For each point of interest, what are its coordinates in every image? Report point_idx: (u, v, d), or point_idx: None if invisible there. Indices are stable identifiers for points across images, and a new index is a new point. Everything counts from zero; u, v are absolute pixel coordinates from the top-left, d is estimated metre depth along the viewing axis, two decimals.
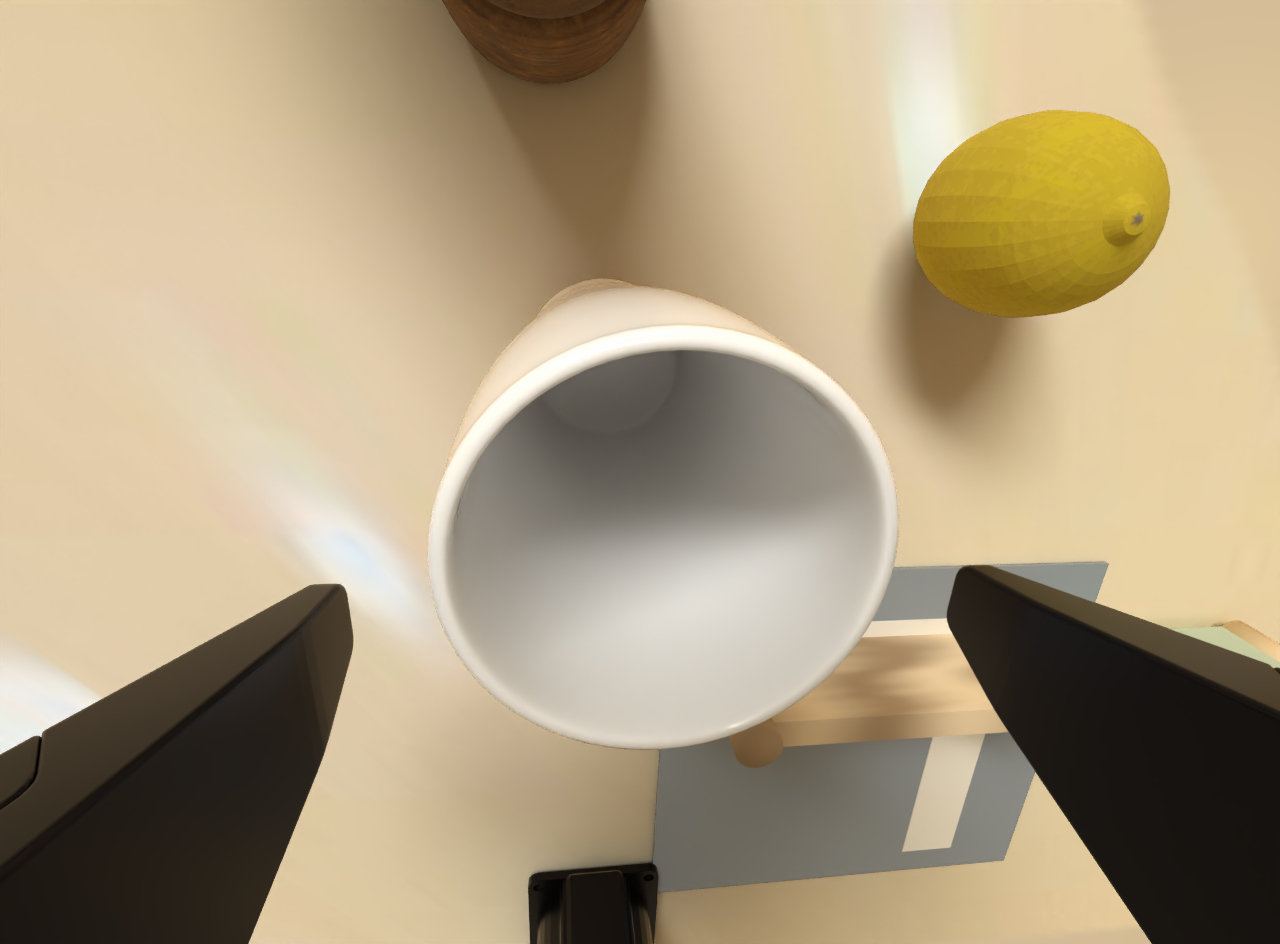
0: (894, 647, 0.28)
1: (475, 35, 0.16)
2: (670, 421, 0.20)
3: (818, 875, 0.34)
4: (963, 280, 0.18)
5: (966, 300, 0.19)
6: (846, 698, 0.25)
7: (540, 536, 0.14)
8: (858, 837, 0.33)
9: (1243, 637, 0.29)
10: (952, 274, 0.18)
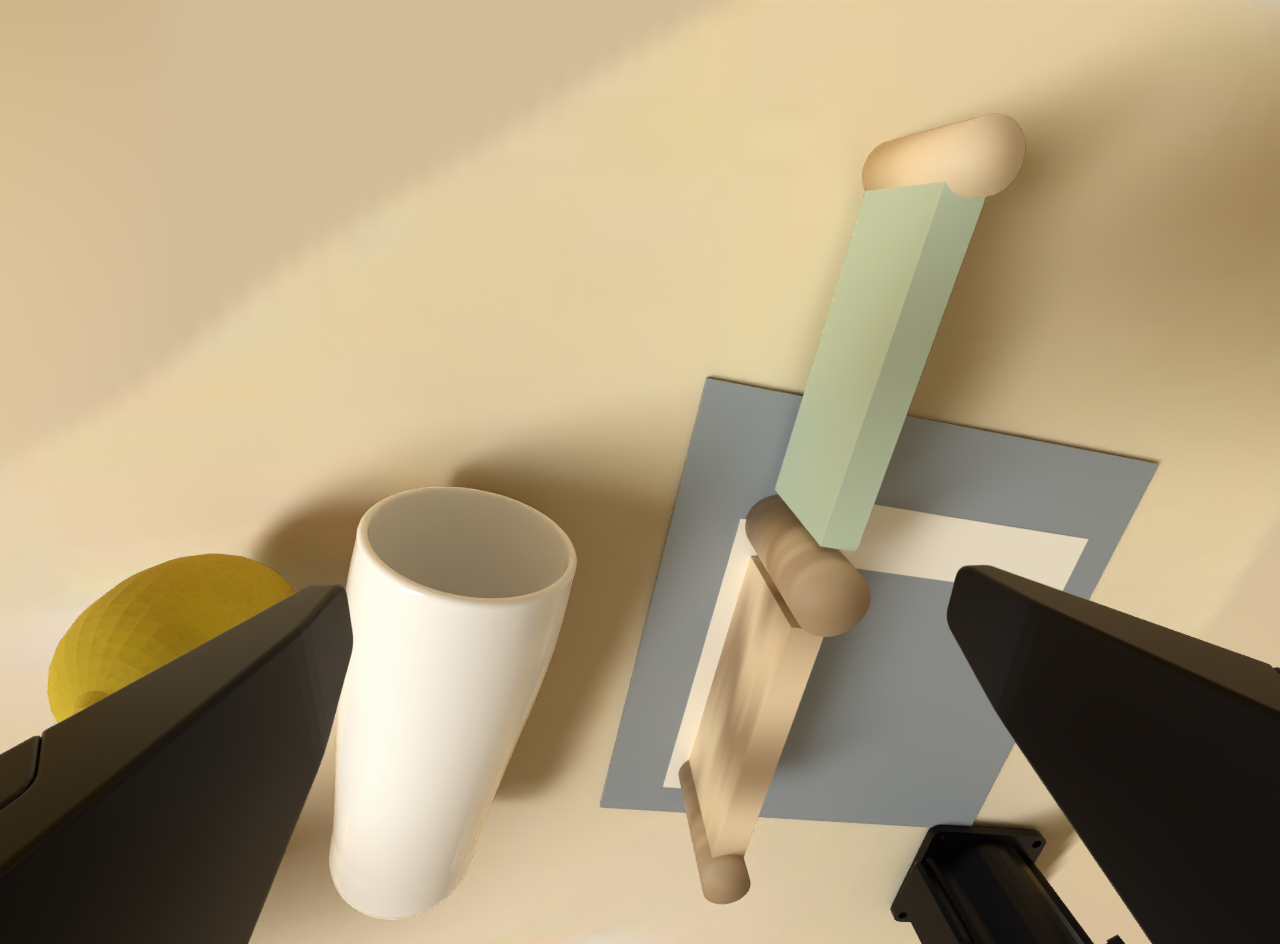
0: (732, 644, 0.25)
1: None
2: None
3: None
4: None
5: None
6: (728, 770, 0.24)
7: None
8: None
9: (878, 186, 0.19)
10: None
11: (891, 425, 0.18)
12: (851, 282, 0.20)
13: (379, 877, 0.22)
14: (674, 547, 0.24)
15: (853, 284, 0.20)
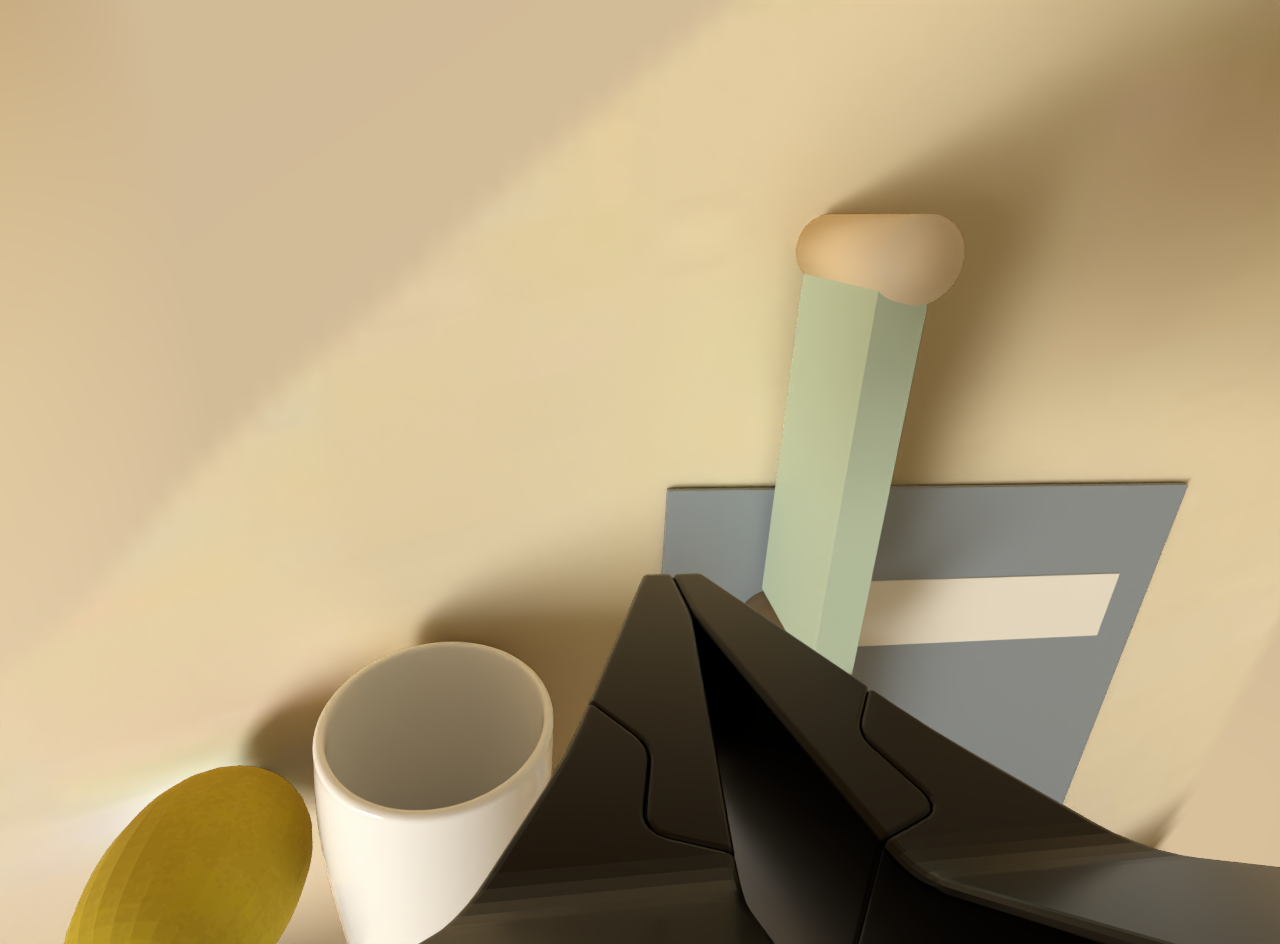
0: None
1: None
2: None
3: (1091, 721, 0.27)
4: None
5: (288, 920, 0.19)
6: None
7: None
8: (1046, 690, 0.26)
9: (814, 273, 0.17)
10: None
11: (865, 546, 0.16)
12: (803, 377, 0.18)
13: None
14: None
15: (805, 381, 0.18)
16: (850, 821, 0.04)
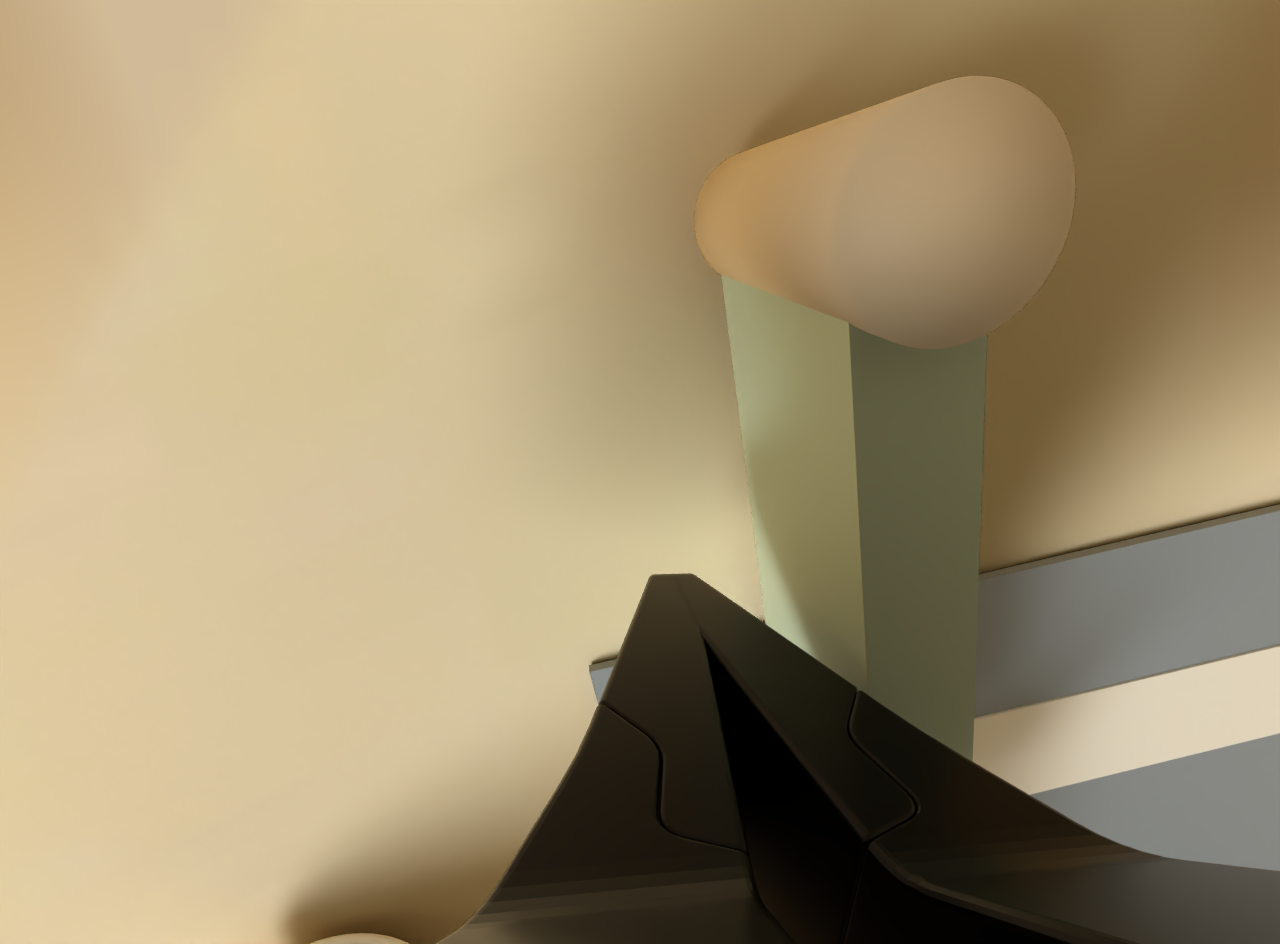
0: None
1: None
2: None
3: None
4: None
5: None
6: None
7: None
8: None
9: (732, 277, 0.08)
10: None
11: None
12: (761, 469, 0.09)
13: None
14: None
15: (765, 478, 0.09)
16: (836, 824, 0.04)
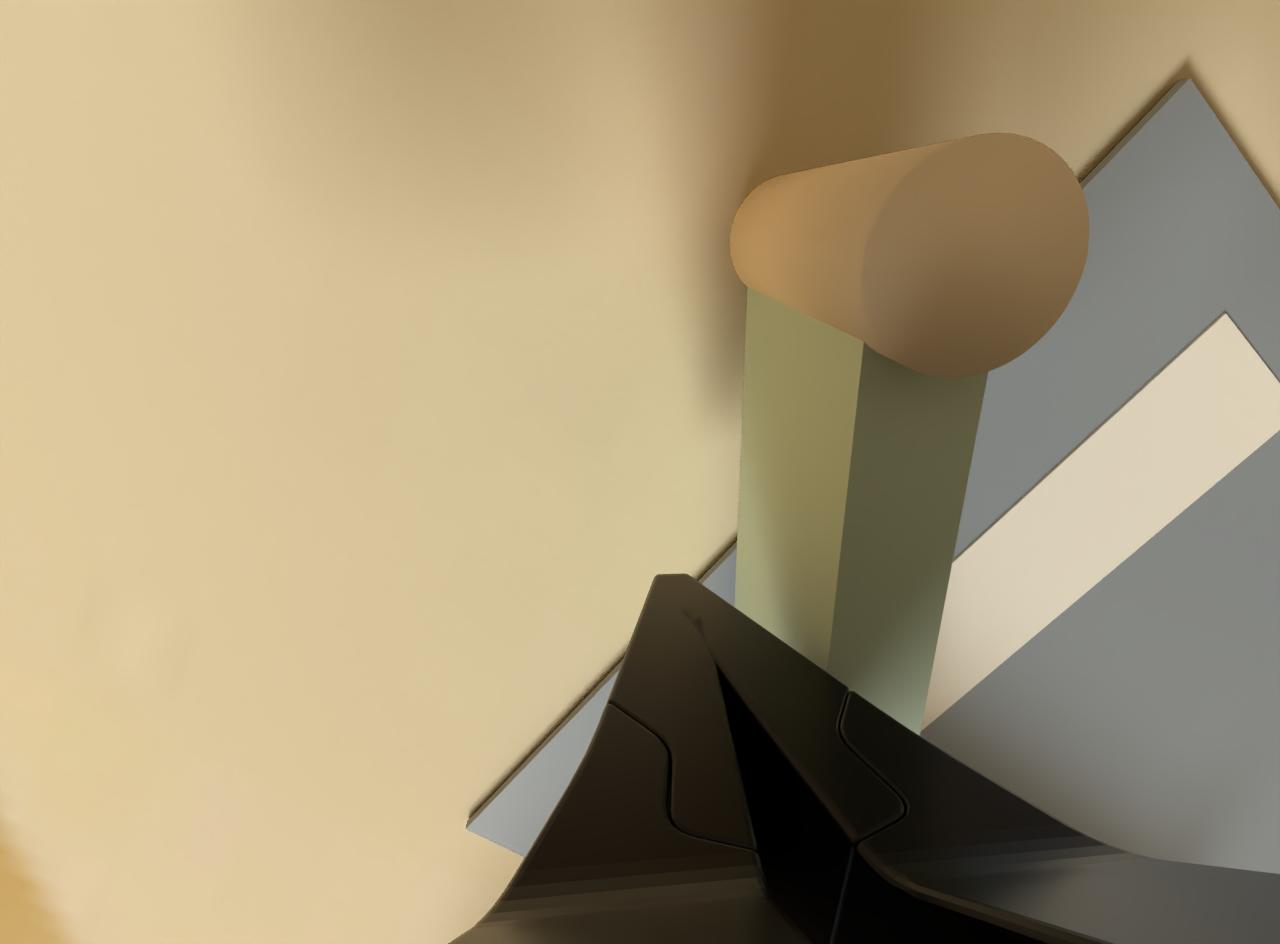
0: None
1: None
2: None
3: None
4: None
5: None
6: None
7: None
8: None
9: (758, 289, 0.09)
10: None
11: None
12: (755, 477, 0.10)
13: None
14: None
15: (757, 486, 0.10)
16: (825, 825, 0.04)
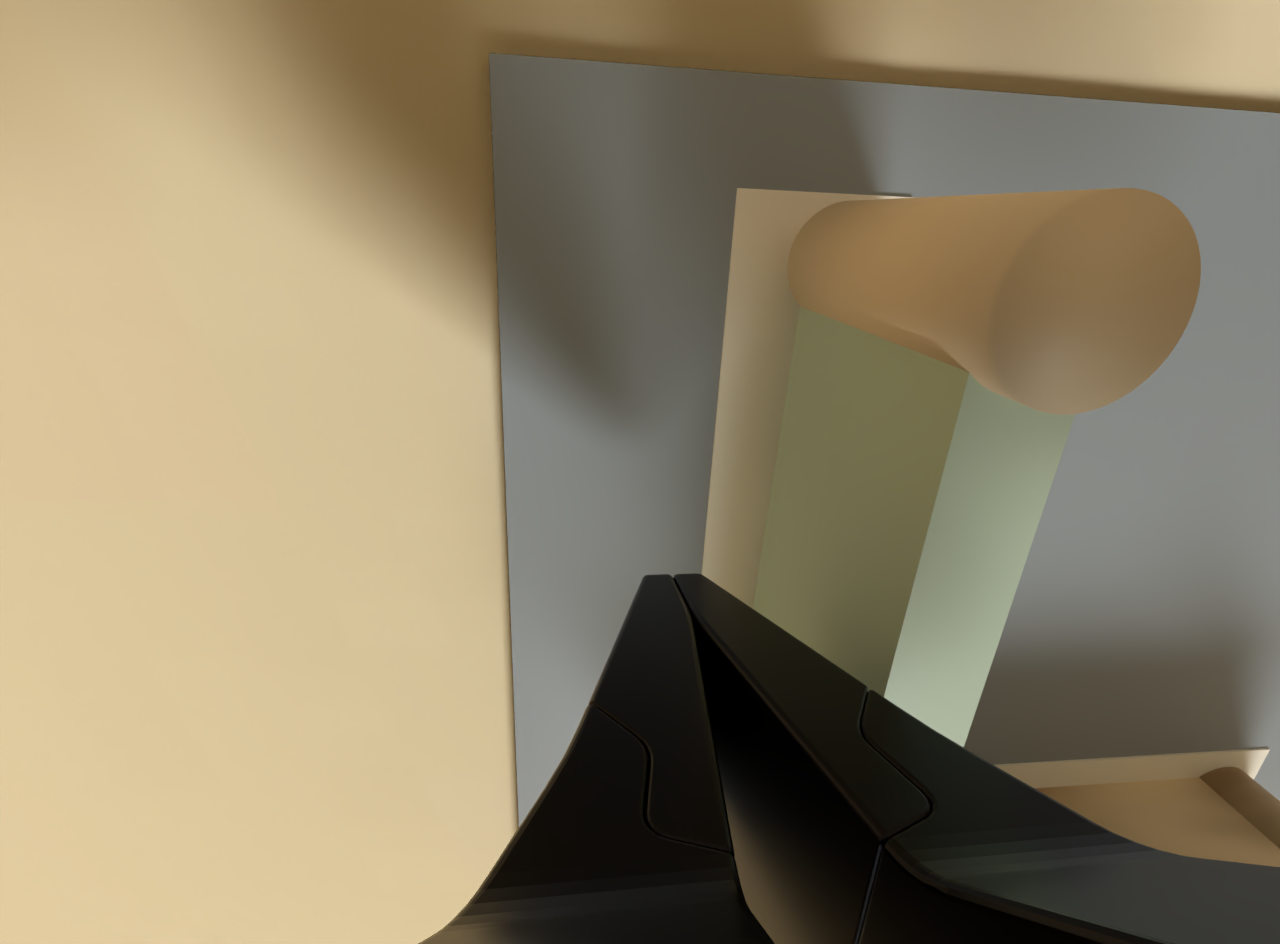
0: None
1: None
2: None
3: (1198, 118, 0.10)
4: None
5: None
6: None
7: None
8: None
9: (819, 310, 0.09)
10: None
11: None
12: (794, 493, 0.10)
13: None
14: None
15: (798, 501, 0.10)
16: (851, 823, 0.04)
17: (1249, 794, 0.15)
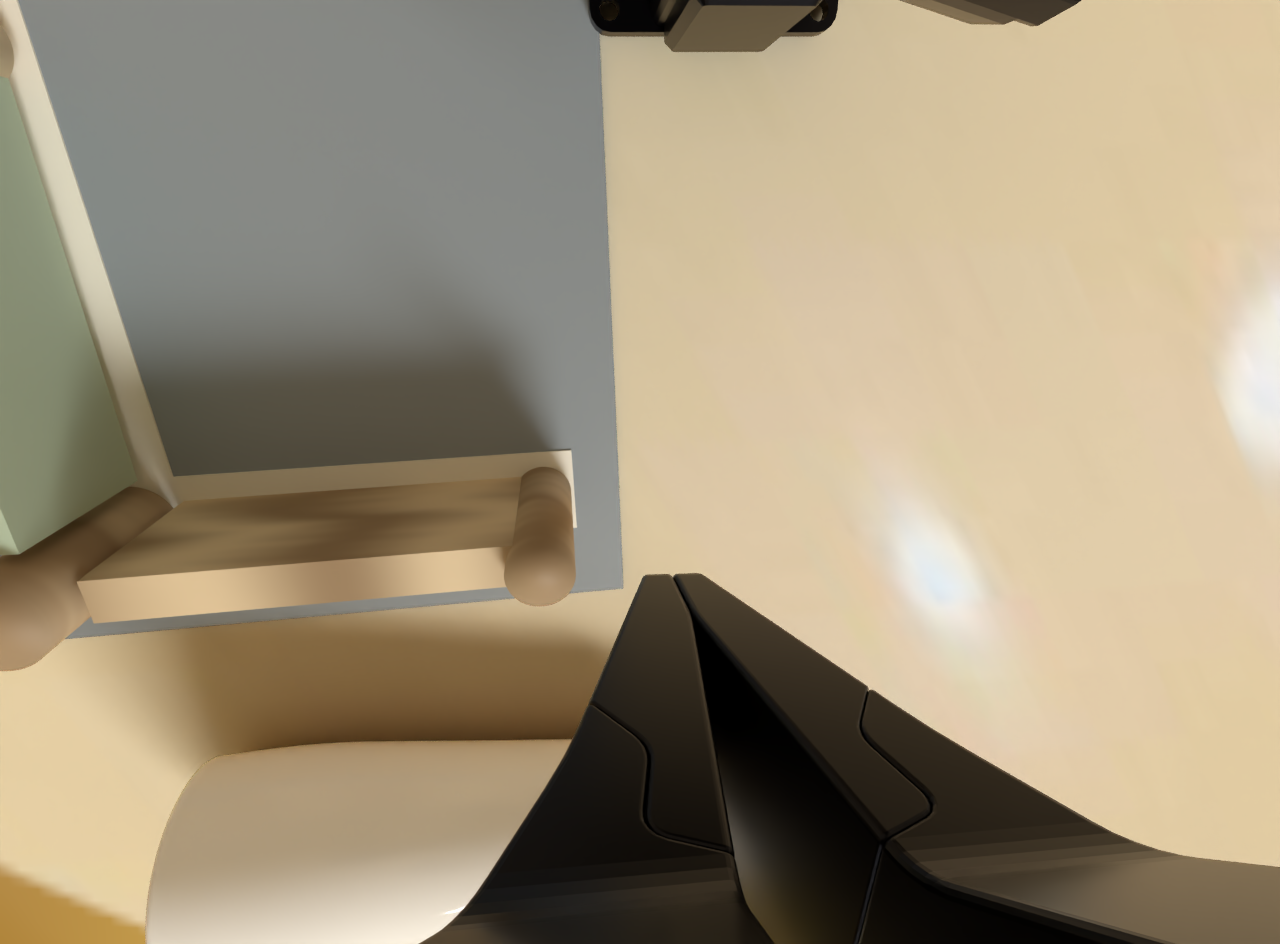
0: None
1: None
2: None
3: None
4: None
5: None
6: None
7: None
8: (157, 63, 0.16)
9: None
10: None
11: None
12: None
13: None
14: (225, 615, 0.21)
15: None
16: (851, 823, 0.04)
17: (533, 477, 0.20)
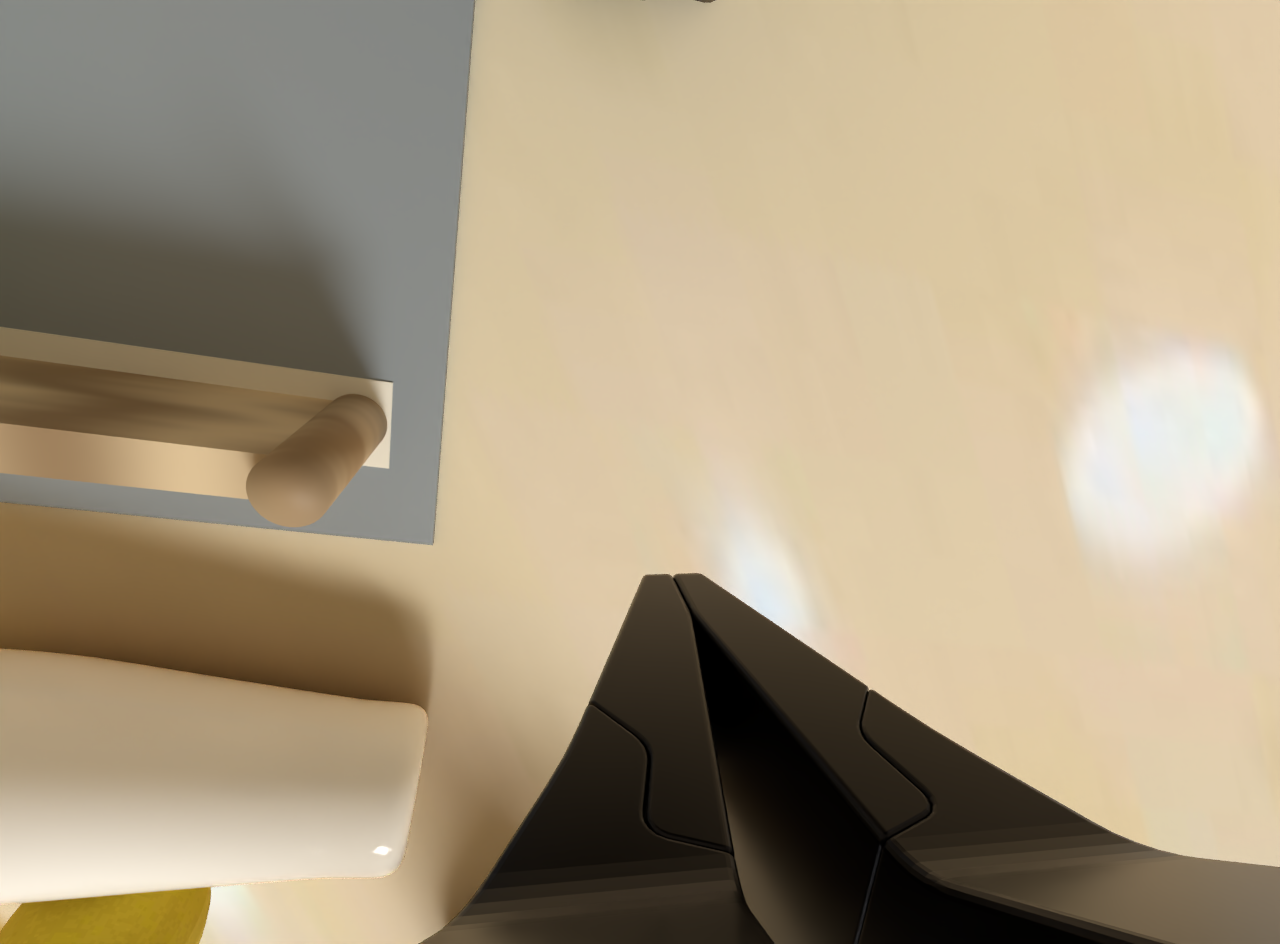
0: None
1: None
2: None
3: None
4: (143, 927, 0.20)
5: (130, 899, 0.20)
6: None
7: None
8: None
9: None
10: (156, 919, 0.20)
11: None
12: None
13: (307, 870, 0.19)
14: None
15: None
16: (851, 823, 0.04)
17: (341, 400, 0.18)
